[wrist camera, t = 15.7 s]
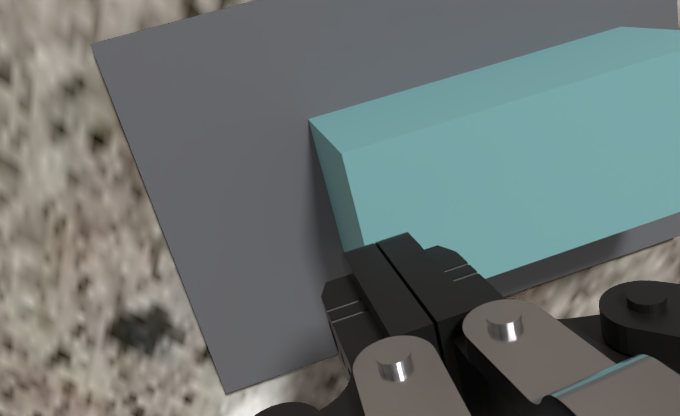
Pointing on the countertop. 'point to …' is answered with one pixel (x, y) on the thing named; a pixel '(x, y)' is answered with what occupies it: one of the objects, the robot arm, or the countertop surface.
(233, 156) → the rubber mat
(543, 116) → the teal block
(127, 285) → the countertop surface
